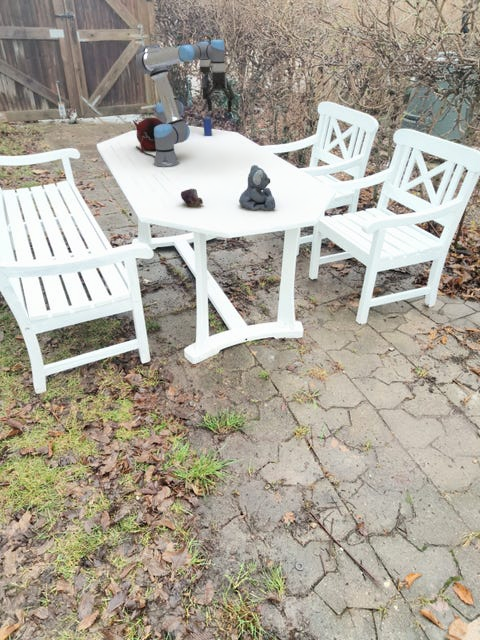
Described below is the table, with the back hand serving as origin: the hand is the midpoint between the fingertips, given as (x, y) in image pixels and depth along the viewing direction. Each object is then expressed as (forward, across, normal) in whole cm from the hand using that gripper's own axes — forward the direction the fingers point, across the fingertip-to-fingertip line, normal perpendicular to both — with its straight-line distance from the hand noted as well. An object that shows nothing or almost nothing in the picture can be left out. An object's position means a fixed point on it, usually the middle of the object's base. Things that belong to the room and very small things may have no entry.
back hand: (206, 97), depth 346 cm
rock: (+27, -158, -17) cm, 161 cm away
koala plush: (+27, -156, -51) cm, 167 cm away
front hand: (-5, -88, -23) cm, 91 cm away
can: (+27, 0, 0) cm, 27 cm away
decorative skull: (+27, -45, +32) cm, 62 cm away
